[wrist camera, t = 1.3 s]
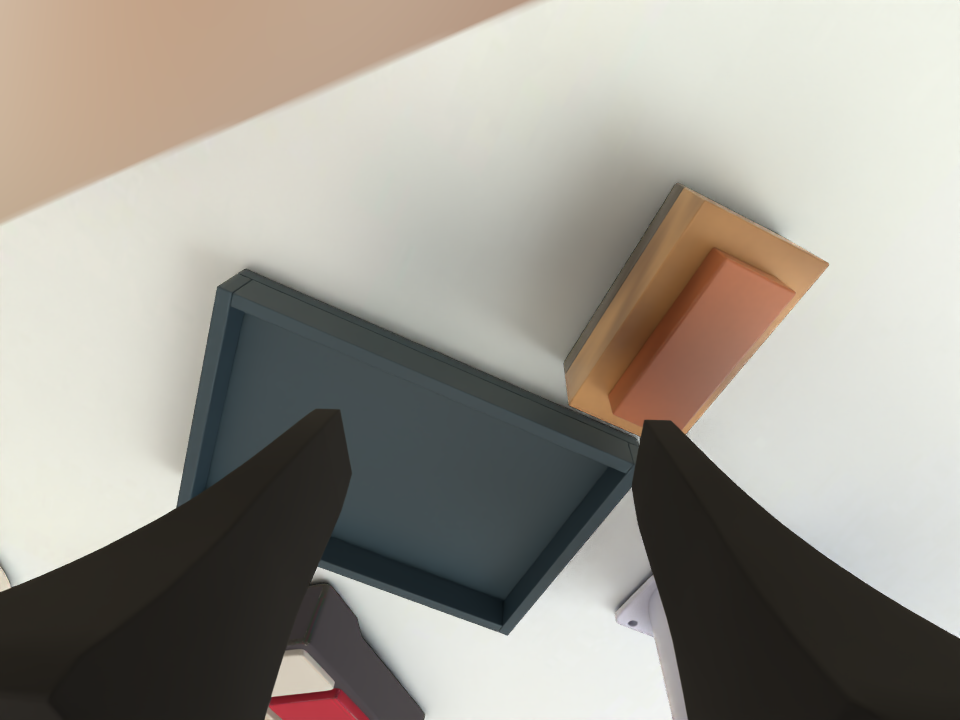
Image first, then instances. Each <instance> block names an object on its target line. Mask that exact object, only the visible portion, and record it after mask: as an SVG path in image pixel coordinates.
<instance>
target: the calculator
mask: <svg viewBox="0 0 960 720" xmlns="http://www.w3.org/2000/svg"><path fill="white" fill-rule="evenodd" d="M424 718H425V714H424V713H423V711H422V710H421V709H420V708H419V706H418V705H417V704H416V703H415V701H414V700H413V699H412V698H411V697H410V695H409V694H408V693H407V692H406V690H405V689H404V688H403V687H402V686H401V684H400V683H399V682H398V681H397V679H396V678H395V677H394V676H393V675H392V673H391V672H390V671H389V670H388V668H387V667H386V666H385V665H384V664H383V662H382V661H381V660H380V659H379V657H378V656H377V655H376V654H375V653H374V651H373V650H372V649H371V648H370V646H369V645H368V644H367V643H366V641H365V640H364V639H363V638H362V636H361V632H360V628H359V624H358V620H357V618H356V616H355V615H354V614H353V613H352V611H351V610H350V609H349V608H348V606H347V605H346V604H345V603H344V601H343V600H342V599H341V598H340V596H339V595H338V594H337V593H336V591H335V590H334V589H333V588H332V587H331V586H330V585H329V584H317V585H311V586H309V587H308V589H307V591H306V593H305V596H304V598H303V601H302V603H301V606H300V609H299V611H298V614H297V616H296V619H295V622H294V625H293V629H292V632H291V635H290V638H289V641H288V644H287V647H286V650H285V653H284V656H283V659H282V663H281V666H280V669H279V672H278V676H277V679H276V682H275V686H274V689H273V692H272V696H271V699H270V702H269V705H268V709H267V713H266V716H265V720H424Z"/></svg>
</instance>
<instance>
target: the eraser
mask: <svg viewBox="0 0 960 720" xmlns="http://www.w3.org/2000/svg"><path fill="white" fill-rule="evenodd" d="M828 266H829V263H828V262H826V261H824V260H822V259H821V258H819V257H817V256H815V255H814V254H812V253H810V252H808V251H807V250H805V249H803V248H802V247H800V246H798V245H796V244H795V243H793V242H791V241H789V240H788V239H786V238H784V237H783V236H781V235H779V234H777V233H775V232H773V231H771V230H769V229H767V228H765V227H763V226H761V225H759V224H757V223H755V222H754V221H752V220H750V219H748V218H746V217H744V216H742V215H740V214H738V213H736V212H734V211H732V210H730V209H728V208H726V207H724V206H723V205H721V204H719V203H717V202H715V201H713V200H711V199H709V198H707V197H705V196H703V195H701V194H699V193H697V192H695V191H694V190H692V189H690V188H688V187H686V186H684V185H682V184H680V183H676V184H675V186H674V187H673V189H672V190H671V192H670V194H669V195H668V197H667V198H666V200H665V202H664V203H663V205H662V206H661V208H660V210H659V211H658V213H657V214H656V216H655V218H654V219H653V221H652V222H651V224H650V226H649V227H648V229H647V230H646V232H645V234H644V235H643V237H642V238H641V240H640V242H639V243H638V245H637V246H636V248H635V250H634V251H633V253H632V254H631V256H630V258H629V259H628V261H627V262H626V264H625V266H624V267H623V269H622V270H621V272H620V274H619V275H618V277H617V278H616V280H615V282H614V283H613V285H612V286H611V288H610V290H609V291H608V293H607V294H606V296H605V298H604V299H603V301H602V302H601V304H600V306H599V307H598V309H597V310H596V312H595V314H594V315H593V317H592V318H591V320H590V322H589V323H588V325H587V326H586V328H585V330H584V331H583V333H582V334H581V336H580V338H579V339H578V341H577V342H576V344H575V346H574V347H573V349H572V350H571V352H570V354H569V355H568V357H567V358H566V360H565V362H564V370H565V379H566V388H567V396H568V404H569V406H571V407H574V408H576V409H578V410H580V411H583V412H585V413H587V414H590V415H592V416H594V417H597V418H599V419H601V420H603V421H606V422H608V423H610V424H613V425H615V426H617V427H619V428H622V429H624V430H626V431H629V432H631V433H633V434H636V435H638V436H640V437H641V433H642V428H643V423H644V420H671V421H672V422H673V423H674V424H675V425H676V426H677V427H678V428H679V429H680V430H681V431H682V432H683V433H684V434H685V435H686V433H687V432H688V431H689V430H690V429H691V427H692V426H693V425H694V424H695V423H696V422H697V420H698V419H699V418H700V417H701V416H702V415H703V413H704V412H705V411H706V410H707V409H708V407H709V406H710V405H711V404H712V403H713V402H714V400H715V399H716V398H717V397H718V396H719V394H720V393H721V392H722V391H723V390H724V389H725V387H726V386H727V385H728V384H729V383H730V381H731V380H732V379H733V378H734V377H735V376H736V374H737V373H738V372H739V371H740V370H741V369H742V367H743V366H744V365H745V364H746V363H747V361H748V360H749V359H750V358H751V357H752V356H753V354H754V353H755V352H756V351H757V350H758V348H759V347H760V346H761V345H762V344H763V343H764V341H765V340H766V339H767V338H768V337H769V335H770V334H771V333H772V332H773V331H774V330H775V328H776V327H777V326H778V325H779V324H780V323H781V321H782V320H783V319H784V318H785V317H786V315H787V314H788V313H789V312H790V311H791V310H792V308H793V307H794V306H795V305H796V304H797V302H798V301H799V300H800V299H801V298H802V297H803V295H804V294H805V293H806V292H807V291H808V290H809V288H810V287H811V286H812V285H813V284H814V282H815V281H816V280H817V279H818V278H819V277H820V275H821V274H822V273H823V272H824V271H825V269H826V268H827V267H828Z"/></svg>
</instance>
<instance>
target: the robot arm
mask: <svg viewBox="0 0 960 720" xmlns="http://www.w3.org/2000/svg"><path fill="white" fill-rule="evenodd" d="M351 476H352V470H351V464H350V459H349V454H348V448H347V443H346V438H345V432H344V427H343V422H342V416H341V411H340V409H314V410H313V411H311V412H310V413H309V414H307V415H306V416H305V417H303V418H302V419H301V420H299V421H298V422H297V423H296V424H294V425H293V426H292V427H291V428H289V429H288V430H287V431H285V432H284V433H283V434H282V435H280V436H279V437H278V438H277V439H275V440H274V441H273V442H271V443H270V444H269V445H267V446H266V447H265V448H264V449H262V450H261V451H260V452H258V453H257V454H256V455H254V456H253V457H252V458H250V459H249V460H248V461H246V462H245V463H243V464H242V465H241V466H239V467H238V468H236V469H235V470H234V471H232V472H231V473H229V474H228V475H226V476H225V477H224V478H222V479H221V480H219V481H218V482H217V483H215V484H214V485H212V486H211V487H209V488H208V489H206V490H205V491H203V492H202V493H200V494H199V495H197V496H195V497H194V498H192V499H191V500H189V501H187V502H186V503H184V504H182V505H181V506H179V507H177V508H176V509H174V510H172V511H171V512H169V513H167V514H166V515H164V516H162V517H160V518H159V519H157V520H155V521H153V522H151V523H149V524H147V525H146V526H144V527H142V528H140V529H138V530H136V531H134V532H132V533H130V534H128V535H126V536H124V537H123V538H121V539H119V540H117V541H115V542H113V543H111V544H109V545H107V546H105V547H103V548H101V549H99V550H97V551H95V552H93V553H91V554H88V555H86V556H84V557H82V558H80V559H78V560H76V561H73V562H71V563H69V564H67V565H64V566H62V567H60V568H58V569H55V570H53V571H51V572H48V573H46V574H44V575H42V576H39V577H37V578H34V579H32V580H30V581H27V582H25V583H22V584H20V585H17V586H15V587H12V588H9V589H7V590H4V591H2V592H0V720H265V716H266V713H267V709H268V705H269V702H270V699H271V696H272V692H273V689H274V686H275V682H276V679H277V676H278V672H279V669H280V666H281V663H282V659H283V656H284V653H285V650H286V647H287V644H288V641H289V638H290V635H291V632H292V629H293V625H294V622H295V619H296V616H297V614H298V611H299V609H300V606H301V603H302V601H303V598H304V596H305V593H306V591H307V589H308V587H309V584H310V582H311V580H312V578H313V575H314V573H315V571H316V568H317V566H318V564H319V562H320V559H321V557H322V555H323V553H324V550H325V548H326V546H327V543H328V541H329V539H330V537H331V534H332V532H333V530H334V527H335V525H336V523H337V520H338V518H339V516H340V513H341V511H342V507H343V504H344V501H345V497H346V494H347V490H348V487H349V483H350V479H351ZM632 491H633V498H634V504H635V510H636V515H637V521H638V526H639V529H640V533H641V536H642V540H643V543H644V546H645V550H646V553H647V556H648V560H649V563H650V566H651V569H652V572H653V575H652V576H651V577H650V578H649V579H648V580H647V581H646V582H645V583H644V584H643V585H642V586H641V587H640V588H639V589H638V590H637V591H636V592H635V593H634V594H633V595H632V596H631V597H630V598H629V599H628V600H627V601H626V602H625V603H624V604H623V605H622V606H621V607H620V608H619V609H618V610H617V611H616V613H615V619H616V622H617V623H619V624H620V625H623V626H625V627H628V628H631V629H633V630H636V631H639V632H641V633H644V634H647V635H649V636H652V637H654V639H655V643H656V647H657V652H658V656H659V661H660V665H661V669H662V674H663V678H664V683H665V687H666V691H667V696H668V700H669V705H670V709H671V713H672V718H673V720H960V639H959V638H958V637H956V636H954V635H952V634H950V633H949V632H947V631H945V630H943V629H942V628H940V627H938V626H936V625H935V624H933V623H931V622H929V621H928V620H926V619H924V618H922V617H921V616H919V615H917V614H915V613H914V612H912V611H910V610H908V609H907V608H905V607H903V606H902V605H900V604H898V603H897V602H895V601H894V600H892V599H890V598H889V597H887V596H885V595H884V594H882V593H880V592H879V591H877V590H876V589H874V588H873V587H871V586H869V585H868V584H866V583H865V582H863V581H862V580H860V579H859V578H857V577H856V576H854V575H853V574H851V573H850V572H848V571H846V570H845V569H843V568H842V567H840V566H839V565H837V564H836V563H835V562H833V561H832V560H830V559H829V558H827V557H826V556H824V555H823V554H822V553H820V552H819V551H818V550H816V549H815V548H813V547H812V546H811V545H809V544H808V543H807V542H805V541H804V540H803V539H801V538H800V537H799V536H797V535H796V534H795V533H793V532H792V531H791V530H789V529H788V528H787V527H786V526H784V525H783V524H782V523H781V522H779V521H778V520H777V519H776V518H774V517H773V516H772V515H771V514H770V513H768V512H767V511H766V510H765V509H764V508H763V507H761V506H760V505H759V504H758V503H757V502H755V501H754V500H753V499H752V498H751V497H750V496H748V495H747V494H746V493H745V492H744V491H743V490H742V489H741V488H740V487H739V486H737V485H736V484H735V483H734V482H733V481H732V480H731V479H730V478H729V477H728V476H727V475H726V474H725V473H724V472H722V471H721V470H720V469H719V468H718V467H717V466H716V465H715V464H714V463H713V462H712V461H711V460H710V459H709V458H708V457H707V456H706V455H705V454H704V453H703V452H702V451H701V450H700V449H699V448H698V447H697V446H696V445H695V444H694V443H693V442H692V441H691V440H690V439H689V438H688V437H687V436H686V435H685V434H684V433H683V432H682V431H681V430H680V429H679V428H678V427H677V426H676V425H675V424H674V423H673V422H672V421H671V420H644V423H643V428H642V433H641V438H640V444H639V449H638V454H637V459H636V464H635V470H634V475H633V480H632Z"/></svg>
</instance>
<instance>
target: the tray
mask: <svg viewBox="0 0 960 720" xmlns="http://www.w3.org/2000/svg"><path fill="white" fill-rule="evenodd" d="M314 409H340V411H341V416H342V422H343V427H344V432H345V438H346V443H347V448H348V454H349V459H350V464H351V470H352V476H351V479H350V483H349V487H348V490H347V494H346V497H345V501H344V504H343V507H342V511H341V513H340V516H339V518H338V520H337V523H336V525H335V527H334V530H333V532H332V534H331V537H330V539H329V541H328V543H327V546H326V548H325V550H324V553H323V555H322V557H321V559H320V562H319V564H318V567H320V568H323V569H326V570H329V571H331V572H334V573H337V574H340V575H342V576H345V577H348V578H351V579H354V580H356V581H359V582H362V583H365V584H367V585H370V586H373V587H376V588H378V589H381V590H384V591H387V592H389V593H392V594H395V595H398V596H400V597H403V598H406V599H409V600H411V601H414V602H417V603H420V604H422V605H425V606H428V607H431V608H433V609H436V610H439V611H442V612H444V613H447V614H450V615H453V616H455V617H458V618H461V619H464V620H466V621H469V622H472V623H475V624H477V625H480V626H483V627H486V628H488V629H491V630H494V631H497V632H499V633H502V634H505V635H508V634H509V633H510V632H511V631H512V630H513V628H514V627H515V626H516V625H517V624H518V623H519V621H520V620H521V619H522V618H523V617H524V615H525V614H526V613H527V612H528V611H529V609H530V608H531V607H532V606H533V605H534V603H535V602H536V601H537V600H538V599H539V597H540V596H541V595H542V594H543V593H544V591H545V590H546V589H547V588H548V587H549V585H550V584H551V583H552V582H553V581H554V579H555V578H556V577H557V576H558V575H559V573H560V572H561V571H562V570H563V569H564V567H565V566H566V565H567V564H568V563H569V561H570V560H571V559H572V558H573V557H574V555H575V554H576V553H577V552H578V551H579V549H580V548H581V547H582V546H583V545H584V543H585V542H586V541H587V540H588V539H589V537H590V536H591V535H592V534H593V533H594V531H595V530H596V529H597V528H598V527H599V525H600V524H601V523H602V522H603V521H604V519H605V518H606V517H607V516H608V515H609V513H610V512H611V511H612V510H613V509H614V507H615V506H616V505H617V504H618V503H619V501H620V500H621V499H622V498H623V497H624V495H625V494H626V493H627V492H628V491H629V489H630V488H631V487H632V480H633V475H634V470H635V464H636V459H637V454H638V449H639V445H638V442H637V439H636V438H634V437H631V436H629V435H627V434H624V433H622V432H620V431H618V430H615V429H613V428H611V427H608V426H606V425H604V424H601V423H599V422H597V421H595V420H592V419H590V418H588V417H585V416H583V415H581V414H578V413H576V412H574V411H572V410H569V409H567V408H565V407H562V406H560V405H558V404H555V403H553V402H551V401H549V400H546V399H544V398H542V397H539V396H537V395H535V394H532V393H530V392H528V391H526V390H523V389H521V388H519V387H516V386H514V385H512V384H509V383H507V382H505V381H503V380H500V379H498V378H496V377H493V376H491V375H489V374H486V373H484V372H482V371H480V370H477V369H475V368H473V367H470V366H468V365H466V364H463V363H461V362H459V361H457V360H454V359H452V358H450V357H447V356H445V355H443V354H440V353H438V352H436V351H434V350H431V349H429V348H427V347H424V346H422V345H420V344H417V343H415V342H413V341H411V340H408V339H406V338H404V337H401V336H399V335H397V334H394V333H392V332H390V331H388V330H385V329H383V328H381V327H378V326H376V325H374V324H371V323H369V322H367V321H365V320H362V319H360V318H358V317H355V316H353V315H351V314H348V313H346V312H344V311H342V310H339V309H337V308H335V307H332V306H330V305H328V304H325V303H323V302H321V301H319V300H316V299H314V298H312V297H309V296H307V295H305V294H302V293H300V292H298V291H296V290H293V289H291V288H289V287H286V286H284V285H282V284H279V283H277V282H275V281H273V280H270V279H268V278H266V277H263V276H261V275H259V274H256V273H254V272H252V271H250V270H247V269H244V270H243V271H241V272H239V273H238V274H237V275H235V276H233V277H232V278H230V279H229V280H227V281H226V282H224V283H222V284H221V285H219V286H218V287H217V291H216V296H215V302H214V307H213V312H212V318H211V323H210V329H209V334H208V339H207V345H206V350H205V356H204V361H203V367H202V372H201V377H200V383H199V388H198V394H197V399H196V404H195V410H194V415H193V421H192V426H191V432H190V437H189V442H188V448H187V453H186V459H185V464H184V469H183V475H182V480H181V486H180V491H179V496H178V502H177V507H179V506H181V505H182V504H184V503H186V502H187V501H189V500H191V499H192V498H194V497H195V496H197V495H199V494H200V493H202V492H203V491H205V490H206V489H208V488H209V487H211V486H212V485H214V484H215V483H217V482H218V481H219V480H221V479H222V478H224V477H225V476H226V475H228V474H229V473H231V472H232V471H234V470H235V469H236V468H238V467H239V466H241V465H242V464H243V463H245V462H246V461H248V460H249V459H250V458H252V457H253V456H254V455H256V454H257V453H258V452H260V451H261V450H262V449H264V448H265V447H266V446H267V445H269V444H270V443H271V442H273V441H274V440H275V439H277V438H278V437H279V436H280V435H282V434H283V433H284V432H285V431H287V430H288V429H289V428H291V427H292V426H293V425H294V424H296V423H297V422H298V421H299V420H301V419H302V418H303V417H305V416H306V415H307V414H309V413H310V412H311V411H313V410H314ZM177 507H176V508H177Z"/></svg>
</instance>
